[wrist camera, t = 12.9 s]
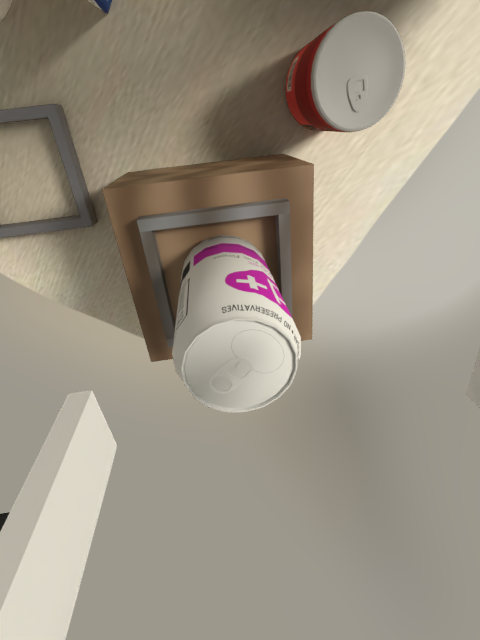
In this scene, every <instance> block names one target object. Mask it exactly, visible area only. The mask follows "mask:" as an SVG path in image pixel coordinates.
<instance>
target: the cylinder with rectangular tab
mask: <svg viewBox="0 0 480 640" xmlns="http://www.w3.org/2000/svg"><path fill="white" fill-rule="evenodd" d="M12 1H13V0H0V20H2V19H3V18H4V17H5V16H6V14H7V12H8V10H9V8H10V6H11V4H12Z"/></svg>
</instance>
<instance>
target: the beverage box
mask: <svg viewBox="0 0 480 640" xmlns="http://www.w3.org/2000/svg"><path fill="white" fill-rule="evenodd" d="M88 1H89V2H91V3H92V4H93V5H95V6H96V7H98V8H99V9H101V10H102V11H104V12H105V13H107V14H108V12H109V9H110V6H111V2H112V0H88Z"/></svg>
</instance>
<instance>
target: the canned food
mask: <svg viewBox="0 0 480 640" xmlns="http://www.w3.org/2000/svg"><path fill="white" fill-rule="evenodd" d="M404 73H405V51H404V46H403V42H402V39H401V37H400V35H399V32H398V30H397V29H396V27H395V26H394V25H393V23H392V22H391V21H390V20H388V19H387V18H386V17H385V16H383V15H381V14H379V13H376V12H370V11H363V12H356V13H353V14H351V15H348V16H346V17H344V18H343V19H341V20H339V21H338V22H337V23H335V24H334V25H332V26H331V27H330V28H328V29H327V30H326V31H324V32H323V33H322V34H320V35H319V36H318V37H317V38H315V39H314V40H313V41H311V42H310V43H309V44H307V45H306V46H305V47H304V48H303V49H302V50H301V51H300V52H299V53H298V54H297V55H296V57H295V58H294V60H293V61H292V64H291V66H290V68H289V71H288V75H287V79H286V99H287V103H288V107H289V109H290V112H291V113H292V115H293V117H294V118H295V119H296V120H297V121H298V122H299V123H300V124H301V125H302V126H304V127H305V128H308V129H311V130H320V131H336V132H355V131H360V130H363V129H366V128H369V127H371V126H372V125H374V124H375V123H377V122H378V121H379V120H381V119H382V118H383V117H384V116H385V115H386V114H387V112H388V111H389V110H390V108H391V107H392V106H393V104H394V102H395V100H396V99H397V97H398V94H399V92H400V89H401V87H402V83H403V78H404Z"/></svg>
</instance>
